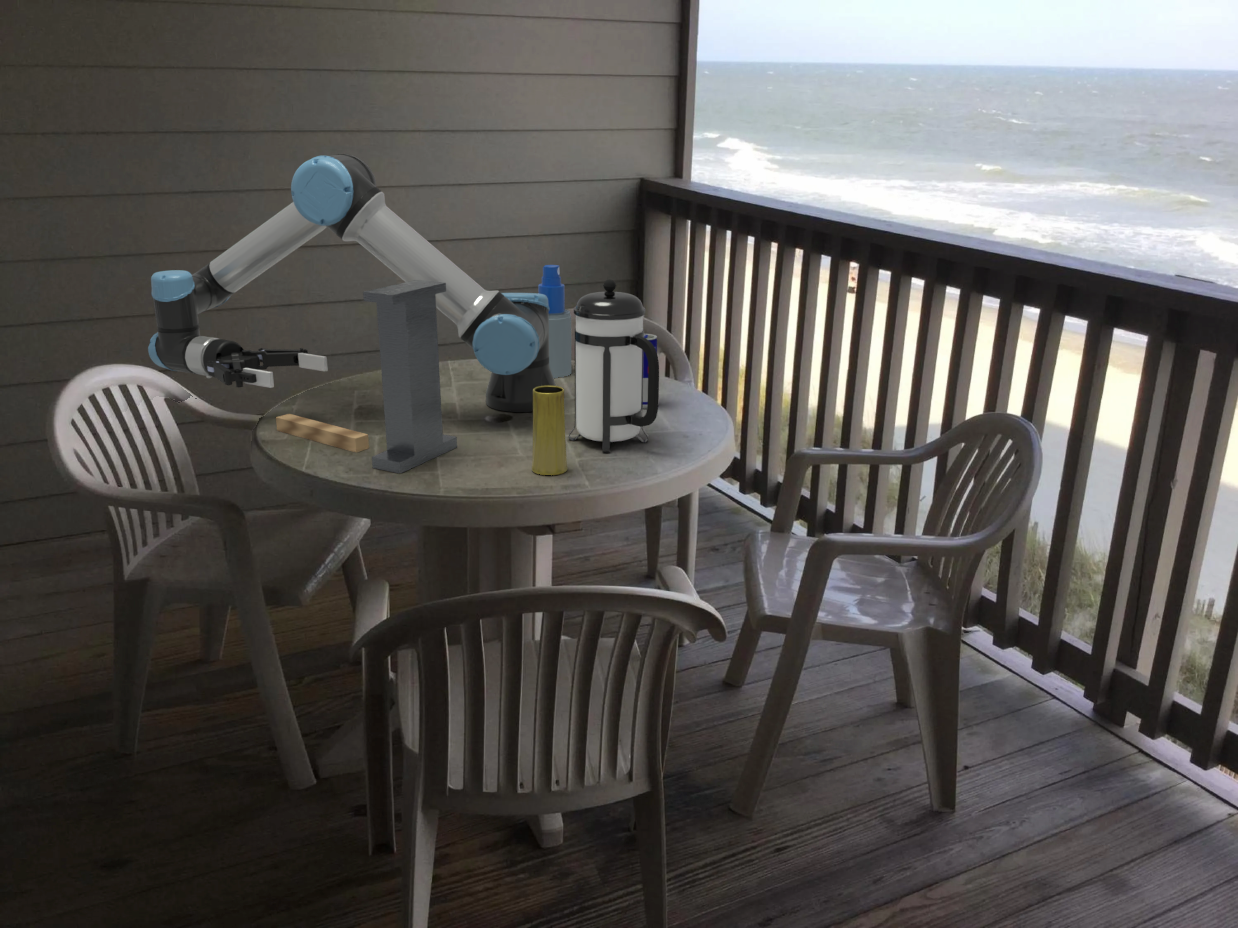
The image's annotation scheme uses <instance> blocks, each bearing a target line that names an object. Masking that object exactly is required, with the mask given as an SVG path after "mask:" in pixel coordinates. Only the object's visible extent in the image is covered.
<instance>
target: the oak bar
mask: <svg viewBox="0 0 1238 928" xmlns="http://www.w3.org/2000/svg"><path fill="white" fill-rule="evenodd" d="M275 423H276V431H277V432H282V433H284V434H288V435H290V436H291V435H292V436H295V437H298V438H302V439H306V440H310V441H313V442H317V443H320V444H324V445H327V446H331V447H334V448H338V449H342V450H346V451H349V452H353V453H357V454H358V453H359V452H362V451H366V450H368V449H369V450H370V441H369V440H370V439H369V434H368V433H364V432H360V431H356V430H353V429H348V428H345V427H341V426H337V425H333V424H329V423H326V422H322V421H320V420H319V421H318V420H315V419H310V418H307V417H304V416H299V415H295V414H293V413H286V414H283V415H280V416H279V415H278V416H276V417H275Z"/></svg>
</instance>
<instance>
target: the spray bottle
mask: <svg viewBox="0 0 1238 928" xmlns="http://www.w3.org/2000/svg"><path fill="white" fill-rule="evenodd" d="M560 269H561V268H560V265H557V264H545V265H544V266H542V276H541V283H539V284H538V286H537V288H538V289H537V291H538V294H544V295H546V296H547V298H548V305H549V308H550V310H549V366H550V370H551V373H552V376H553V378H554V379H559V378H558V377H562V378H565V377H564V376H567V377H569V376H571V375H572V314H571V311H570V310H568V309H566V308H565V303H566V302H565V301H566V299H565V296H566V295H565V294H566V293H565V284H564V283H562V277H561V276H560V274H561V273H560V272H561V271H560ZM570 374H571V375H570ZM568 375H569V376H568Z"/></svg>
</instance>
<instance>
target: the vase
mask: <svg viewBox="0 0 1238 928" xmlns="http://www.w3.org/2000/svg"><path fill="white" fill-rule="evenodd" d="M565 417H566V416H565V389H564V388H563V387H562V386H559V385H556V386H549V385H548V386H539V387H535V388H534V389H533V411H532V452H531V453H532V456H531V458H532V459H531V462H532V463H531V464H532V465H531V471H532V472H533V473H534V474H537V475H539V474H540V476H545V475H551V476H552V475H553V476H559V475H562V474H564V473H566V472H567V471H568V462H567V461H568V459H567V458H568V457H567V442H566V441H567V439H566V418H565ZM553 476H552V477H553Z"/></svg>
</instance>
